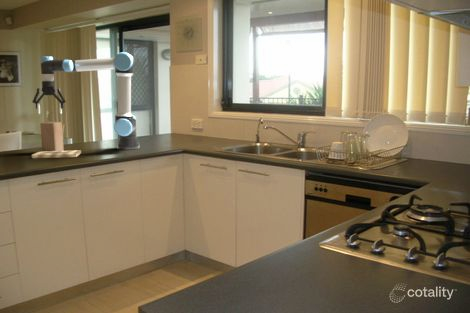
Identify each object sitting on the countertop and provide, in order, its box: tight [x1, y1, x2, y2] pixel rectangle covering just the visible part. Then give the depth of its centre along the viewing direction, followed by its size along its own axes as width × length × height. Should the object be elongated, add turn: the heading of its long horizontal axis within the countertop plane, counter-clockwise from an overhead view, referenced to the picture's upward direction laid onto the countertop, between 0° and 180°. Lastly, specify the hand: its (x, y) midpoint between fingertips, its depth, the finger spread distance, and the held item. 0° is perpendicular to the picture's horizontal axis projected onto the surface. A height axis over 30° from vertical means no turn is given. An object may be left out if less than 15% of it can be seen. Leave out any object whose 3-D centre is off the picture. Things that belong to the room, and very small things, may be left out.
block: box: [40, 121, 65, 151], centre depth 299 cm, size 10×10×20 cm
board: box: [31, 149, 82, 159], centre depth 287 cm, size 26×16×2 cm, turn 99°
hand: (50, 113), depth 297 cm, fingers open, 13 cm apart
